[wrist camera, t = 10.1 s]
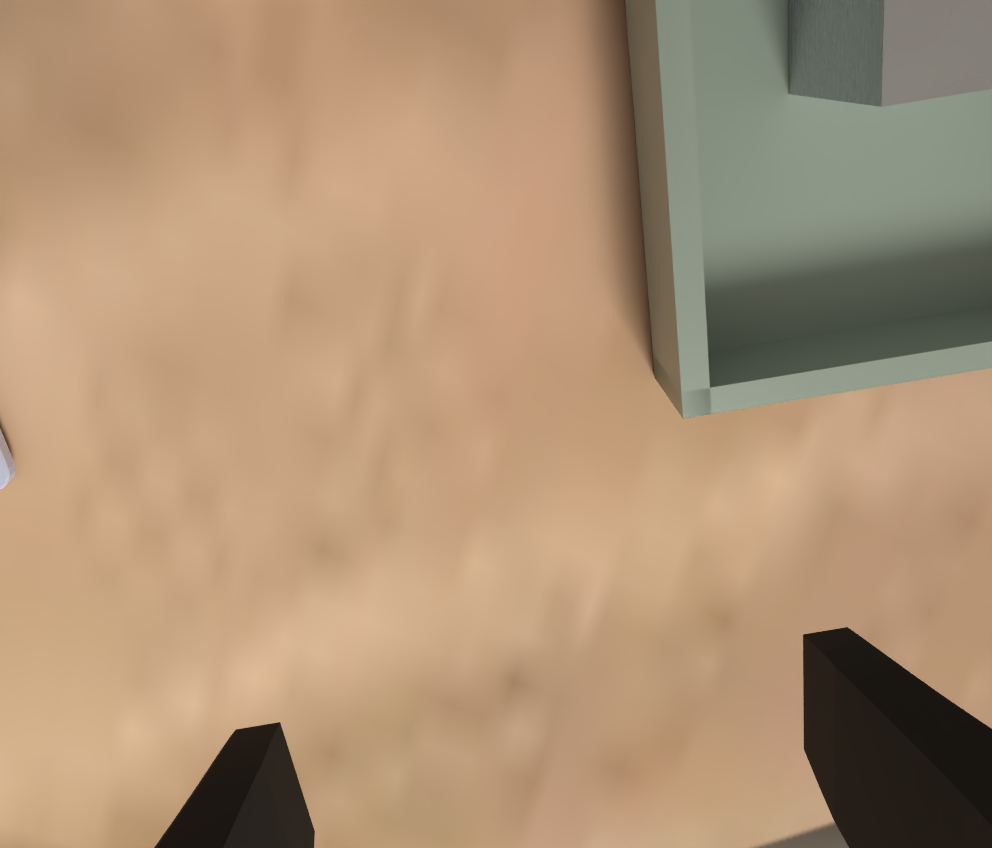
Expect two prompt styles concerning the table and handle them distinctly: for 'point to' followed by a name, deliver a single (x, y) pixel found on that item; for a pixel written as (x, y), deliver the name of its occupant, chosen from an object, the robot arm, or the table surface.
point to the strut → (888, 49)
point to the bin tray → (800, 218)
